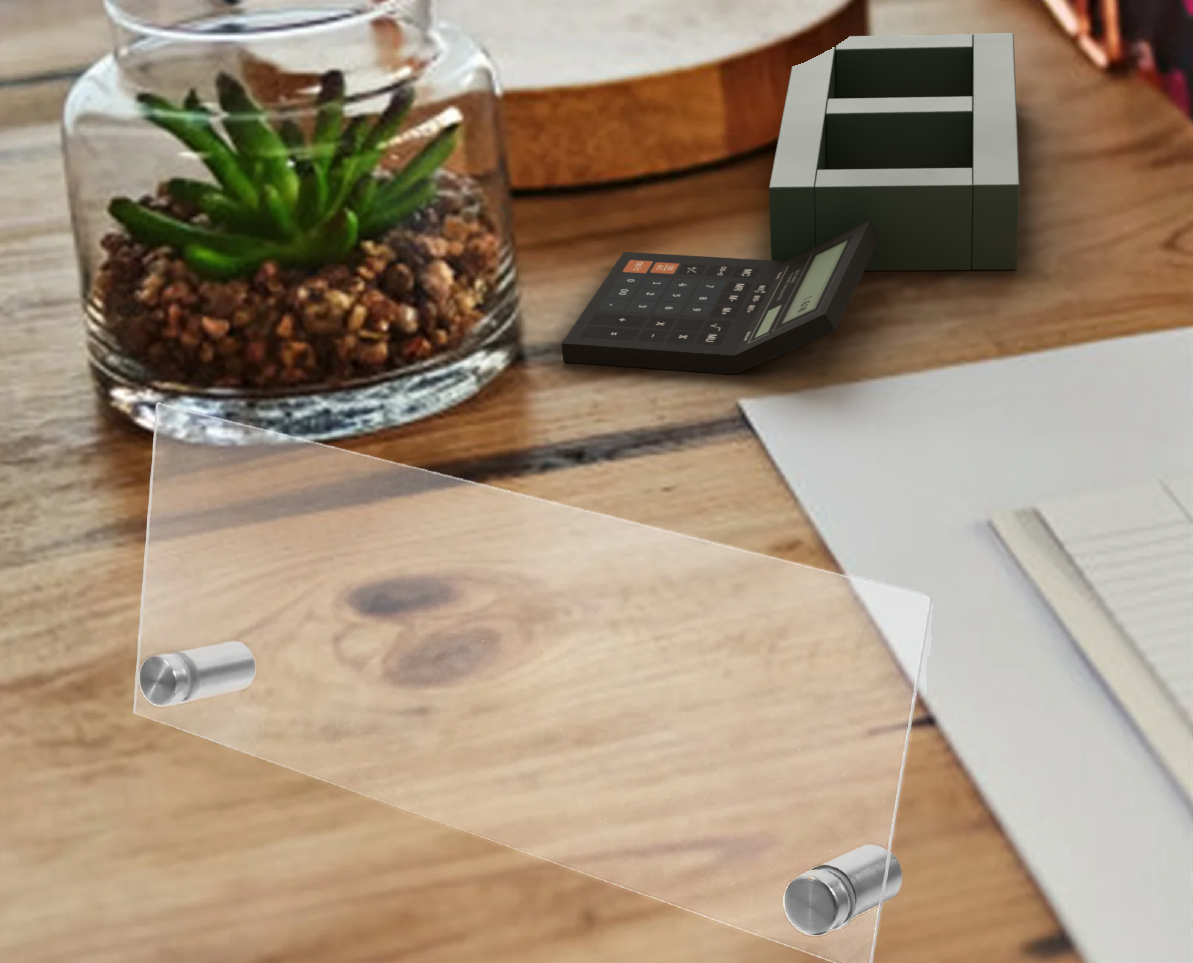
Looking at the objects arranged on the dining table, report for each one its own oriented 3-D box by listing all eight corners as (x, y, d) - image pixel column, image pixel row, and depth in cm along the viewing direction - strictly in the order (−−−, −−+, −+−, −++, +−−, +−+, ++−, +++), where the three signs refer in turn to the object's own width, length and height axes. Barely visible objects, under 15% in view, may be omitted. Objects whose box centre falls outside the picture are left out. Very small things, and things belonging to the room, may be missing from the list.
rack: (1011, 108, 119) (1013, 32, 117) (1017, 270, 102) (1019, 184, 100) (799, 112, 120) (797, 36, 118) (771, 271, 104) (768, 187, 102)
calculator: (624, 269, 105) (620, 207, 104) (880, 284, 102) (879, 221, 100) (563, 361, 98) (557, 296, 96) (836, 381, 95) (835, 314, 93)
